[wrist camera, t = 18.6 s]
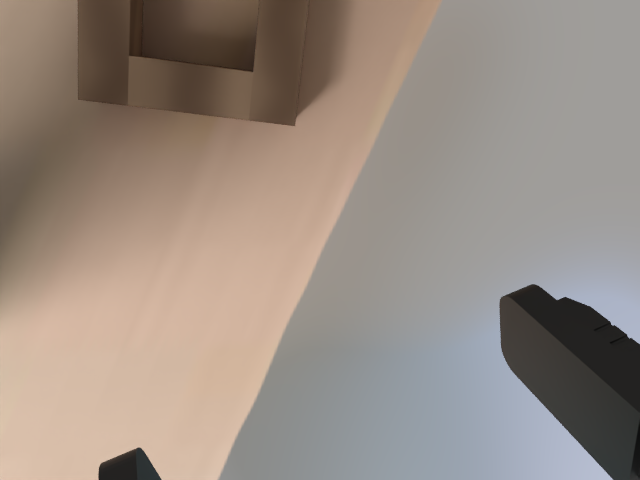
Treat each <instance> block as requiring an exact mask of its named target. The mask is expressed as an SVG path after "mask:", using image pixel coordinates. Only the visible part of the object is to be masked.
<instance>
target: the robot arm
mask: <svg viewBox="0 0 640 480" xmlns="http://www.w3.org/2000/svg"><path fill="white" fill-rule="evenodd" d="M500 330H501V348H502V352H503V355H504V358H505V360H506V362H507V364H508V366H509V367H510V369H511V370H512V371H513V372H514V374H515V375H516V376H517V377H518V378H519V379H520V380H521V381H522V382H523V383H524V384H525V385H526V387H527V388H528V389H529V390H530V391H531V392H532V393H533V394H534V395H535V396H536V397H537V398H538V399H539V401H540V402H541V403H542V404H543V405H544V406H545V407H546V408H547V409H548V410H549V411H550V412H551V413H552V414H553V415H554V417H555V418H556V419H557V420H558V421H559V422H560V423H561V424H562V425H563V426H564V427H565V428H566V429H567V430H568V431H569V433H570V434H571V435H572V436H573V437H574V438H575V439H576V440H577V441H578V442H579V443H580V444H581V445H582V447H583V448H584V449H585V450H586V451H587V452H588V453H589V454H590V455H591V456H592V457H593V458H594V459H595V460H596V462H597V463H598V464H599V465H600V466H601V467H602V468H603V469H604V470H605V471H606V472H607V473H608V474H609V475H610V477H611V478H612V479H613V480H640V344H638V343H637V342H636V341H634V340H633V339H632V338H630V339H629V338H628V337H627V334H625V333H624V332H623V331H621V330H620V329H619V328H617V327H616V326H615V325H614V326H612V325H611V323H610V321H608V320H607V319H606V318H604V317H603V316H602V315H600V314H599V313H598V312H597V311H595V310H594V309H593V308H591V307H590V306H587V305H585V304H582V303H579V302H577V301H574V300H572V299H569V298H567V297H564V298H562V299H559V300H556V299H555V298H553V297H552V296H551V295H550V294H548V293H547V292H546V291H545V290H543V289H542V288H540V287H539V286H537V285H534V284H532V285H529V286H527V287H524V288H522V289H520V290H517V291H515V292H512V293H510V294H508V295H505V296H503V297H502V298H501V299H500ZM99 480H161V478H160V476H159V475H158V473H157V472H156V470H155V468H154V467H153V465H152V464H151V462H150V460H149V459H148V457H147V456H146V454H145V452H144V451H143V450H142V449H141V448H136V449H134V450H132V451H129V452H127V453H124V454H122V455H120V456H117V457H115V458H113V459H110V460H108V461H105V462H103V463H101V464H100V467H99Z"/></svg>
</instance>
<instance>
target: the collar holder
mask: <svg viewBox="0 0 640 480" xmlns="http://www.w3.org/2000/svg"><path fill="white" fill-rule="evenodd" d="M308 7H309V0H260V1H259V12H258V23H257V35H256V46H255V57H254V69H253V71H249V70H241V69H234V68H226V67H219V66H211V65H203V64H196V63H188V62H181V61H173V60H166V59H158V58H151V57H143V56H142V25H143V0H78V100H86V101H94V102H102V103H111V104H119V105H127V106H135V107H143V108H152V109H160V110H168V111H176V112H184V113H193V114H201V115H209V116H217V117H226V118H234V119H242V120H250V121H258V122H267V123H275V124H283V125H291V126H295V121H296V112H297V104H298V95H299V86H300V77H301V68H302V60H303V51H304V42H305V33H306V25H307V16H308Z"/></svg>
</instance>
